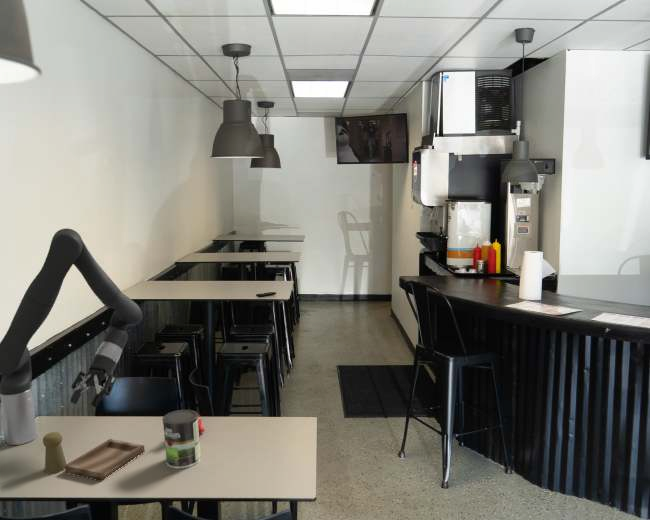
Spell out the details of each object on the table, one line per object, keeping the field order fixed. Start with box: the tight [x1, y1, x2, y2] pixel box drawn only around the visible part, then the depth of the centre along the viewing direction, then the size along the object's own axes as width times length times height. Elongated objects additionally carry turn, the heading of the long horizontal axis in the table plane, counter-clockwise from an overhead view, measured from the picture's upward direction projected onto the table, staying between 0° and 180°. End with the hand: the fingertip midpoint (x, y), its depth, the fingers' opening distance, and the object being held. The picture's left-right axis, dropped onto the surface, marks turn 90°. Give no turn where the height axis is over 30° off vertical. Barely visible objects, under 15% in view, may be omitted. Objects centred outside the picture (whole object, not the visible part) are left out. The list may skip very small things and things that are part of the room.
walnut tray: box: [64, 438, 145, 482], centre depth 178 cm, size 14×18×2 cm
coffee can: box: [161, 409, 202, 470], centre depth 177 cm, size 10×10×14 cm
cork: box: [42, 431, 67, 475], centre depth 175 cm, size 6×6×11 cm
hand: (82, 405), depth 185 cm, fingers open, 8 cm apart
